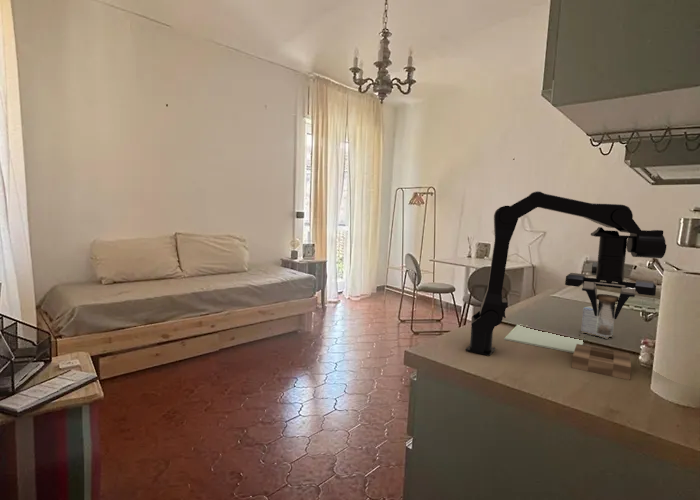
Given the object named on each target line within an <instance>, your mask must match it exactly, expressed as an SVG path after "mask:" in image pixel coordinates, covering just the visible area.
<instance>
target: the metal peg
mask: <svg viewBox="0 0 700 500" xmlns="http://www.w3.org/2000/svg"><path fill="white" fill-rule="evenodd" d="M618 300H619V296H617V295H612V294H604V293H599V294H598V293H597V301H598V304H597V307H598V315H597V326H596V333H599V334H603V335H612V331H613V332H614V327H613V321H614V322H615V319H614V312H615V311H616V303H618Z"/></svg>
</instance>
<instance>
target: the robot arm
mask: <svg viewBox="0 0 700 500" xmlns="http://www.w3.org/2000/svg"><path fill="white" fill-rule="evenodd" d="M537 208H539V209H543V210H544V209H545V210H548V211H553V212H557V213H563V214H567V215H571V216H576V217H581V218H583V219H587V220H589V221H591V222H593V223H595V224H598V225H600V226H598V227H597V228H596V229H595V230H594V231H593V232H591V233H590V236H591V237H595V238H596V237H597V238H599V244H598V253H597V262H596V261H595V262H594V261H593V262H592V267H591V275H592V276H595V277H588V276H586V274H585V273H576V272H575V273H574V272H569V274H567V275H566V276H565V281H564V283H565V284H564V285H565V286H570V287H577V288H578V287H580V286H582V288H581V291H583V292H586V295H587V296H588V298H589V300H590V303H591V307H592V308H593V311H594V315H595V316H597V311H598V299H597V294H598V287H603V288H604V287H606V288H613V289H620V292H619V296H618V297H619V298H618V302H616V303H617V305H616V306H615V316H614V320H617V319H618V317H619V315H620V313H621V310H622V309H623V306H625V304H626V302H627V301H628V300H629V298H631V297H632V298H634V297H636V293H637V294H638V295H645V296H653V297H654V296H656V293H657V292H656V291H657V284H656V283H655V282H654V281H653V280H645V279H635V282H634V281H633V282H632V281H624V279H625V265H626V264H625V263H626V254H627V253H630V255H631V257H633V258H648V259H662V258H663V257H664V256H665V255H666V251H667V245H668V244H666V238H665V236H664V230H662V229H652V230H644V229H641V228H640V227H639V225H638V224H637V223H636V221H635V220H634V218H633V217H634V214H633V211H632V210H631V208H630V207H629V206H628V205H624V204H618V203H617V204H616V203H595V202H593V203H591V202H586V201H582V200H577V199H572V198H567V197H562V196H557V195H553V194H548V193H545V192H542V191H540V190H539V191H538V190H537V191H533V192H531V193H530V194H529V195H528V196H525V197H524V198H523V199H522V198H521V199H520V200H518V201H517V202H515V203H513V204H511V205H503V206H500V207H498V208H497V209H496V210H495V212H494V214H493V230H494V241H493V250H492V255H491V256H492V257H491V263H490V269H489V275H488V276H489V277H488V283H487V289H486V292H485V294H484V296H483V299H482V300H481V305H480V307H479V310H478V311H477V312H476V313H474V314H473V315H472V316H471V323H470V324H471V325H470V326H471V327H470V337H469V338H470V341H469V345H468V346H467V347H466V348H465V351H466V352H470V353H475V354H478V355H484V356H489V357H490V356H491V355H492V354H493V352H495V350H496V347H493V338H494V337H493V335H494V329H495V327H497V326H499V325H500V324H501V323H502V322H503V319H506V310H507V308H508V307H507V306H508V301H507V298H504V297H503V295H502V294H503V293H502V292H503V286H504V280H505V273H506V267H507V261H508V256H509V255H508V254H509V248H510V247H509V246H510V242H511V239H512V237H513V234H514V232H515V229H516V226H517V223H518V221H519V219H520V218H521V217H524V216H525V215H527V214H529V213H530V212H532V211H533V210H536V209H537ZM602 226H603V227H602ZM604 227H605V228H608V229H609V230H605V229H604ZM611 228H612V229H615V230H610V229H611ZM619 232H620V233H627V234H629V235H625V234H624V235H620V233H619Z"/></svg>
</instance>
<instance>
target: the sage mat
mask: <svg viewBox="0 0 700 500" xmlns="http://www.w3.org/2000/svg"><path fill="white" fill-rule="evenodd" d="M520 325H521V324H520ZM520 325H518V324H516V325H515V327H514V328H513V329H512V330H510V332H509V333H507V335H506V336H505V337H504V338H503V340H504V341H510V342H515V343H519V344H524V345H525V344H526V345H530V346H536V347H540V348H546V349H552V350H557V351H560V352H567V353H570V354H571V353H572V354H574V351H575V348H576V344H580V345H584V342H583V340H579V339H574V338H570V337H564V336H560V335H556V334H552V333H548V332H542V331H538V330H534V329H530V328H526V327H523V326H520Z"/></svg>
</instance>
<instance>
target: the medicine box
mask: <svg viewBox="0 0 700 500" xmlns="http://www.w3.org/2000/svg"><path fill="white" fill-rule="evenodd" d="M597 315H598V311H597ZM614 316H615V312H614ZM614 324H615V320H614V321H613V328H614V327H615V326H614ZM596 326H597V316H595V315H594V311H593V308H592V305H591V306H590V305H589V306H585V307H583V308H582V317H581V328H580V329H581V330H580V332H581V331H584V332H588V333H592V334H596V335H600V336H604V337H609V336H612V335H614V330H613V331H612V335H603V334H599V333H596Z"/></svg>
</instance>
